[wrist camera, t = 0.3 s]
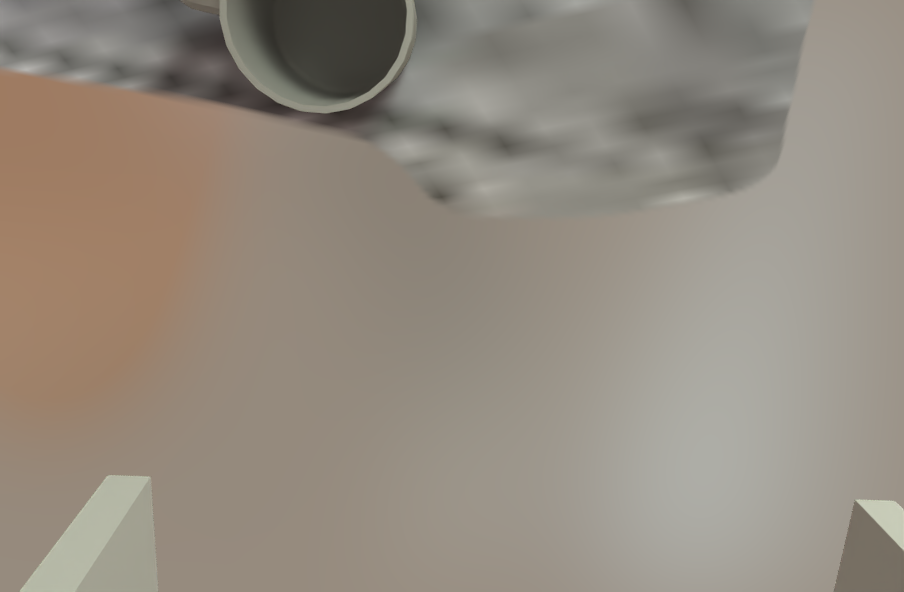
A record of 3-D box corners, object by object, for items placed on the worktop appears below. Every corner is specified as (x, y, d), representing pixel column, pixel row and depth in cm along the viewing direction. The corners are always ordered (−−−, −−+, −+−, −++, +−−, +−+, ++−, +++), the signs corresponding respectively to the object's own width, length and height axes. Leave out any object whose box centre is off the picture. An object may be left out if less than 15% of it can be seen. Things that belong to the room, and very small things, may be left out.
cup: (401, 115, 39) (393, 131, 31) (199, 70, 38) (133, 74, 30) (431, -39, 37) (432, -67, 29) (218, -90, 36) (153, -134, 28)
